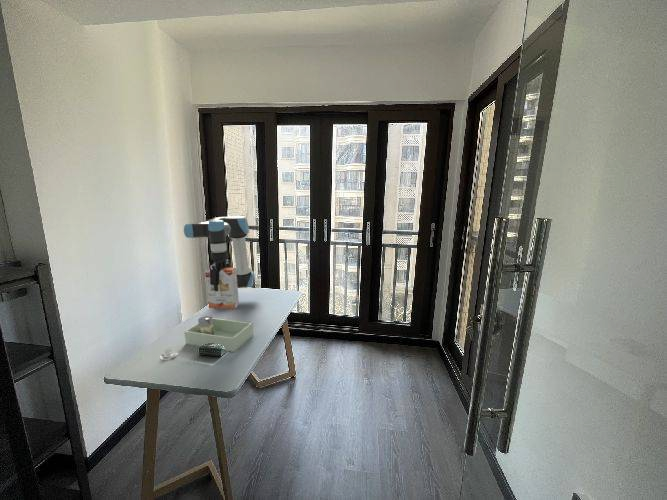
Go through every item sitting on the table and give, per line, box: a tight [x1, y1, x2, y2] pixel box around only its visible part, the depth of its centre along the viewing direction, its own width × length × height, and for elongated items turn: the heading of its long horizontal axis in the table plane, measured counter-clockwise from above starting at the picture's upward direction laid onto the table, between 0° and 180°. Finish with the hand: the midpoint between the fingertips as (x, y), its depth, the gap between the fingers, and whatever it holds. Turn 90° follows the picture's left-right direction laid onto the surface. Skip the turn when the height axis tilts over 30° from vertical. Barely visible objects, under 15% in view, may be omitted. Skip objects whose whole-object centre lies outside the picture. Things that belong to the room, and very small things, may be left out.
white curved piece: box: [159, 346, 179, 361], centre depth 136 cm, size 9×8×4 cm
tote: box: [183, 317, 254, 353], centre depth 150 cm, size 18×30×8 cm, turn 74°
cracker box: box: [204, 267, 240, 309], centre depth 143 cm, size 14×6×21 cm, turn 88°
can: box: [197, 315, 214, 335], centre depth 152 cm, size 7×7×11 cm
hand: (223, 294), depth 144 cm, fingers closed on cracker box, 7 cm apart
